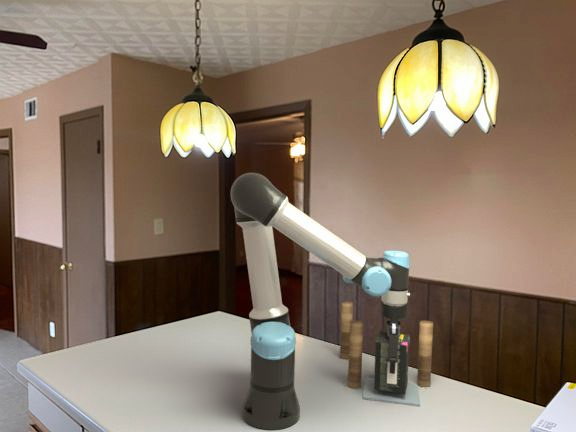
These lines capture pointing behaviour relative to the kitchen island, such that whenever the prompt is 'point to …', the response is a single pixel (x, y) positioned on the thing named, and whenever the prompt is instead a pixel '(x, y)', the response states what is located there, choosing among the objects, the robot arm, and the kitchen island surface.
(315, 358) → the kitchen island surface
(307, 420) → the kitchen island surface
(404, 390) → the tampon box
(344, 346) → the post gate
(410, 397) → the pad
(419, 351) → the post
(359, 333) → the post corner
